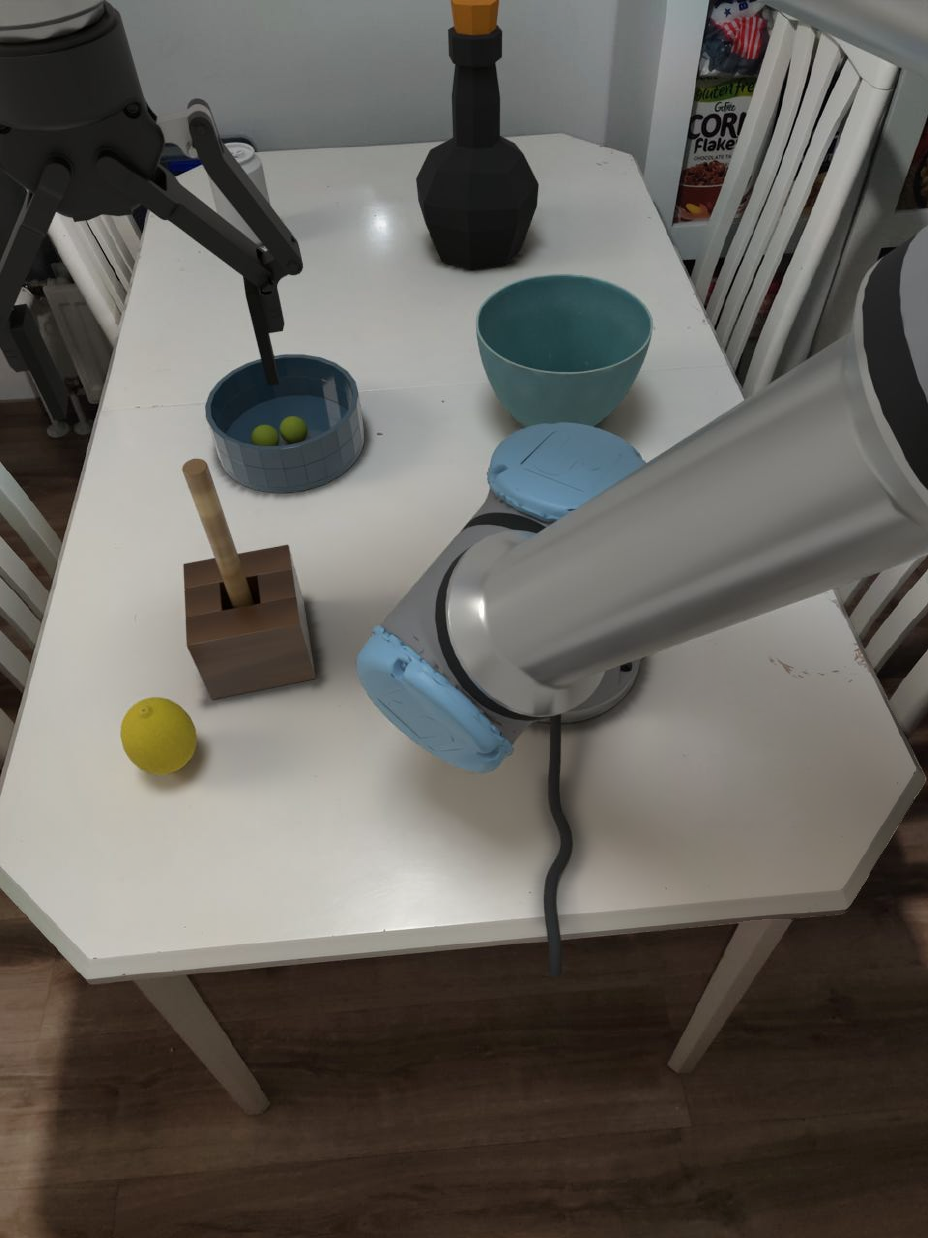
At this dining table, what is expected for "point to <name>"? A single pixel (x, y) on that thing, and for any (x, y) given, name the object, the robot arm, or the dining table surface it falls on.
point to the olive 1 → (265, 436)
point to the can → (256, 174)
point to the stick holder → (248, 625)
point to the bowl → (302, 392)
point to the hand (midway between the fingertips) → (168, 390)
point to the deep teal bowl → (562, 347)
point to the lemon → (158, 735)
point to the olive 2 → (293, 429)
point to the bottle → (476, 156)
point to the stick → (217, 531)
